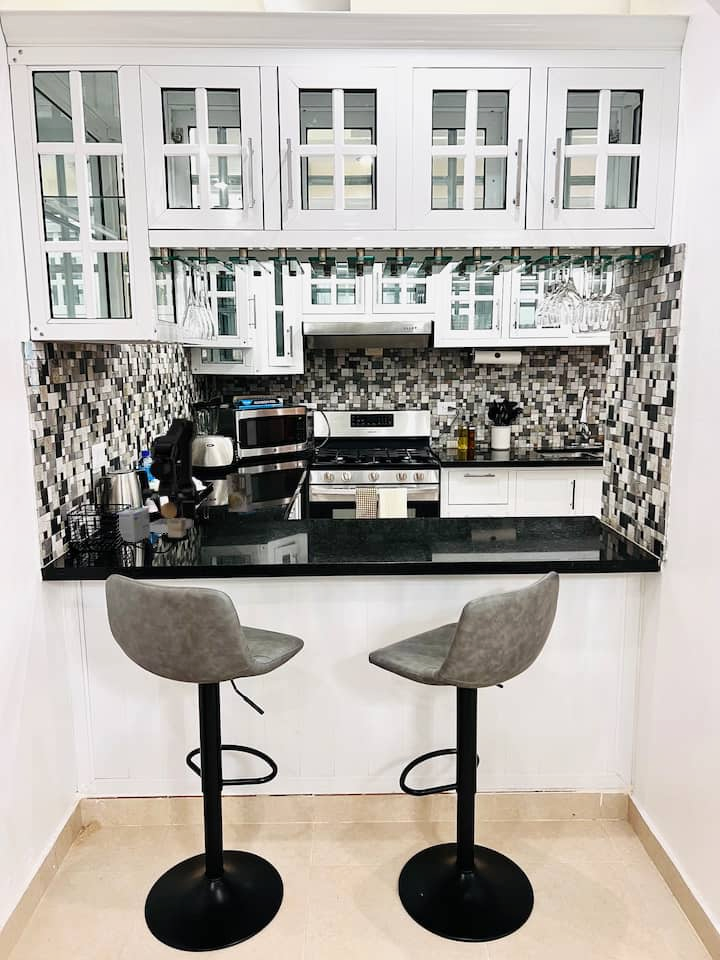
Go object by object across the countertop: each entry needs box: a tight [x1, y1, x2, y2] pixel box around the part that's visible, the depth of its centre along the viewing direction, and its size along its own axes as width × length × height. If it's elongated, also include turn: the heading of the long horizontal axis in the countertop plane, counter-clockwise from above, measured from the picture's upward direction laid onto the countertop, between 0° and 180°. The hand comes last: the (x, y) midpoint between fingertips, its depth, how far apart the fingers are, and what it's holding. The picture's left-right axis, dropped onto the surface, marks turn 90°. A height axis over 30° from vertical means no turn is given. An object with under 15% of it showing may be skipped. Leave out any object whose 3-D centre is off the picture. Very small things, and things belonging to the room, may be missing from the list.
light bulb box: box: [116, 507, 151, 544], centre depth 252 cm, size 11×7×11 cm, turn 166°
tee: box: [167, 517, 187, 538], centre depth 257 cm, size 5×5×6 cm
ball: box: [161, 502, 177, 519], centre depth 268 cm, size 6×6×6 cm
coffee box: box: [226, 472, 254, 513], centre depth 305 cm, size 9×6×16 cm
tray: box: [150, 518, 193, 533], centre depth 268 cm, size 12×12×3 cm
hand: (169, 515), depth 268 cm, fingers closed on ball, 6 cm apart
